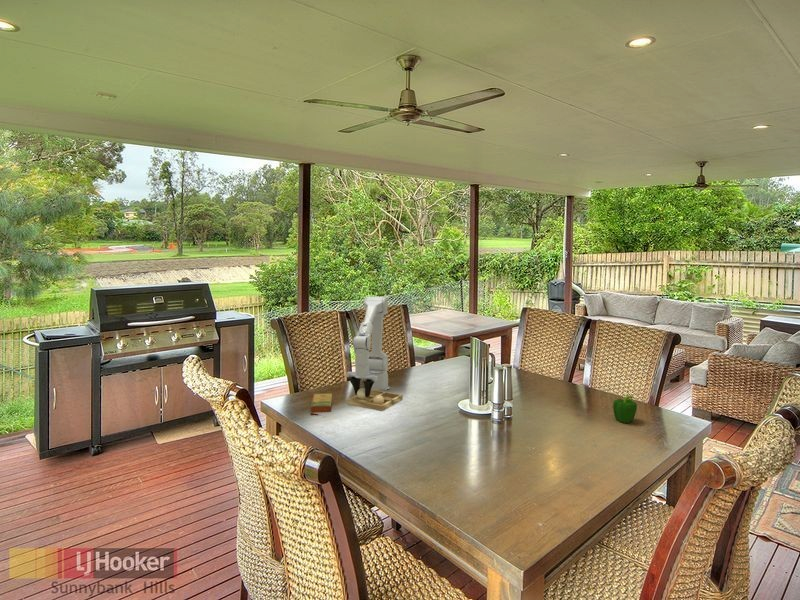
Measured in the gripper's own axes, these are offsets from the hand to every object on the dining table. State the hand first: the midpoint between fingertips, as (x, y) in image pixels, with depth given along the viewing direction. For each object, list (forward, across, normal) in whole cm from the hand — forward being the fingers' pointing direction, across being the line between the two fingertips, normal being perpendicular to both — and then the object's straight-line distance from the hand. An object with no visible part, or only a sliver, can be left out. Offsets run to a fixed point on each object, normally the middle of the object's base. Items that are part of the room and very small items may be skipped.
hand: (362, 395), depth 205 cm
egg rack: (+4, +4, +4) cm, 7 cm away
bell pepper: (+5, +98, +35) cm, 104 cm away
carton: (+5, -13, -11) cm, 18 cm away
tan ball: (+3, +8, 0) cm, 9 cm away
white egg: (+1, 0, 0) cm, 1 cm away
